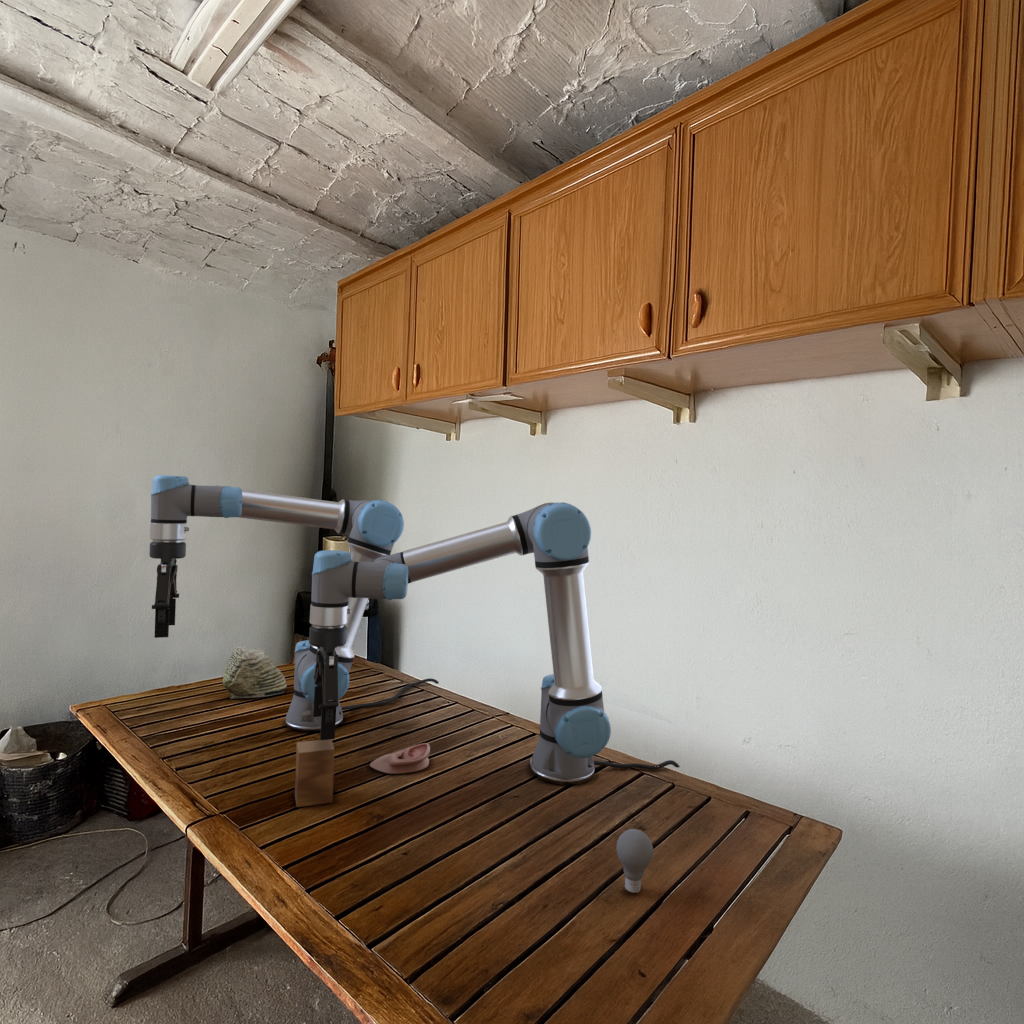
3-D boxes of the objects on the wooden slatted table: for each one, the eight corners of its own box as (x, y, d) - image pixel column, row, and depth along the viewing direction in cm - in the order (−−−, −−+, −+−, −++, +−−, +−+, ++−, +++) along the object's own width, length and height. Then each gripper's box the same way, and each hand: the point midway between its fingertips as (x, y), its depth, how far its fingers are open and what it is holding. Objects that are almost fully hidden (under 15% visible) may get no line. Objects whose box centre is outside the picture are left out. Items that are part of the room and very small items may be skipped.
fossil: (218, 695, 195) (220, 647, 195) (278, 685, 208) (279, 640, 207) (228, 703, 189) (230, 653, 188) (289, 692, 201) (290, 645, 201)
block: (296, 807, 129) (298, 752, 129) (294, 794, 134) (296, 742, 134) (332, 802, 132) (334, 749, 131) (329, 789, 137) (331, 738, 137)
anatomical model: (364, 753, 147) (384, 735, 158) (364, 770, 147) (383, 751, 158) (419, 760, 144) (435, 742, 155) (418, 778, 144) (434, 758, 156)
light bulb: (610, 879, 108) (613, 822, 108) (644, 879, 109) (647, 822, 109) (619, 902, 102) (622, 840, 102) (655, 901, 103) (658, 840, 103)
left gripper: (180, 545, 139) (177, 642, 139) (190, 537, 162) (187, 620, 162) (141, 545, 136) (138, 643, 136) (157, 537, 159) (154, 621, 159)
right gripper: (357, 638, 121) (351, 748, 122) (338, 613, 144) (334, 706, 144) (316, 639, 118) (310, 752, 119) (304, 614, 141) (299, 708, 142)
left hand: (165, 631), depth 149 cm, fingers open, 13 cm apart
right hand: (323, 727), depth 132 cm, fingers open, 13 cm apart
